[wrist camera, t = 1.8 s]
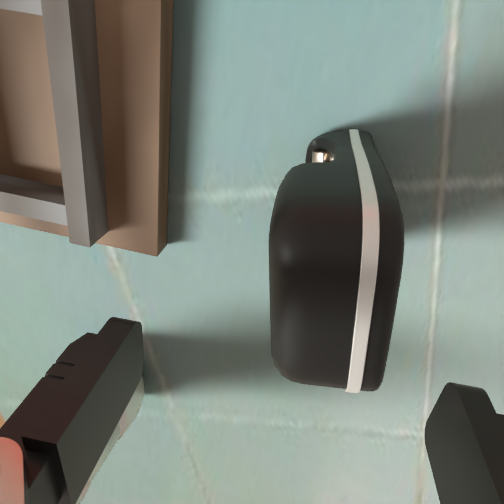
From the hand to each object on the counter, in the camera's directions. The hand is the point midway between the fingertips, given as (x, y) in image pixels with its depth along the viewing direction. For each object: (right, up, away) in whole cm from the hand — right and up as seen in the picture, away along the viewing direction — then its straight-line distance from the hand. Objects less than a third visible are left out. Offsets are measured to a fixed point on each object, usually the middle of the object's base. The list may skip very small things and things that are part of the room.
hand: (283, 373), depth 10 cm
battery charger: (+3, +7, +11) cm, 13 cm away
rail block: (-12, +11, +11) cm, 20 cm away
